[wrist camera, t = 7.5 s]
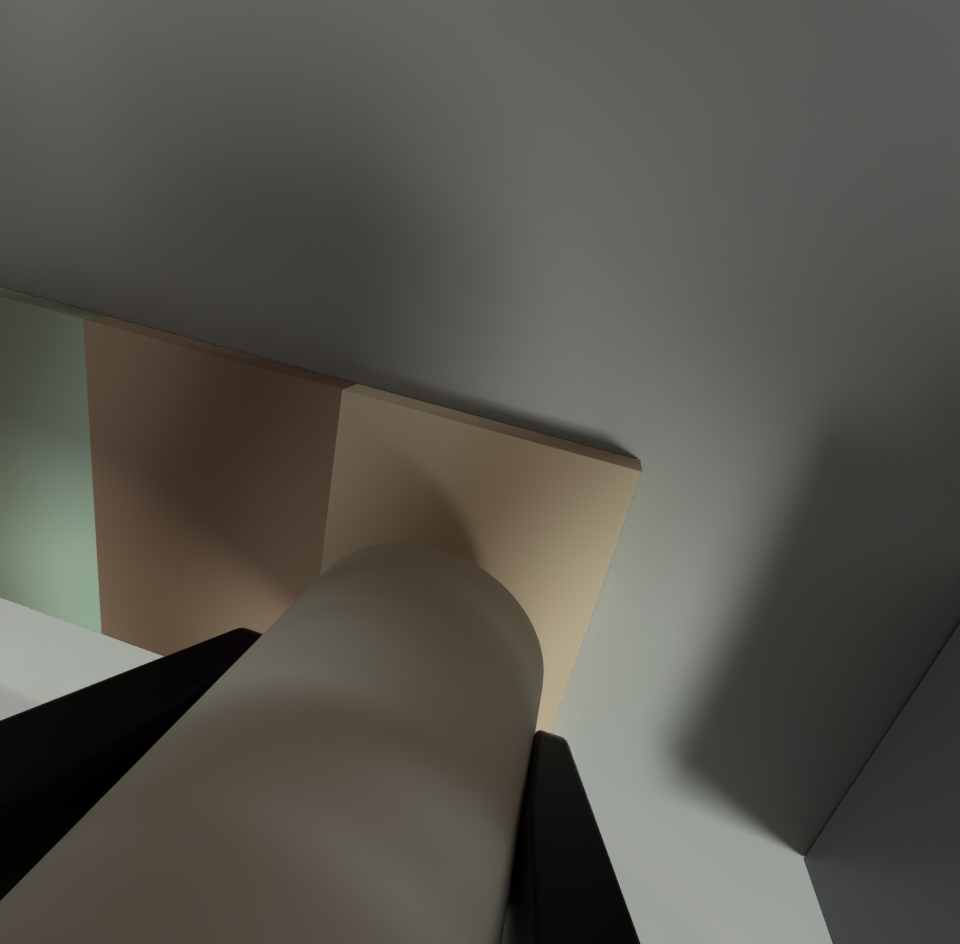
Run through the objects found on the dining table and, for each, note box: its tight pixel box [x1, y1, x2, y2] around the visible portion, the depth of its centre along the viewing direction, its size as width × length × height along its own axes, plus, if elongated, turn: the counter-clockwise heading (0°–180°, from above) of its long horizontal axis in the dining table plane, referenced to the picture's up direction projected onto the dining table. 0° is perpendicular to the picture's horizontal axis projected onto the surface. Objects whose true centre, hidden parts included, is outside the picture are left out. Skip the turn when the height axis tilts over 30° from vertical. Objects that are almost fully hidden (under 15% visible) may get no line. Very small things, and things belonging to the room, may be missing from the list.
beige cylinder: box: [0, 543, 544, 944], centre depth 6 cm, size 4×4×6 cm
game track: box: [0, 287, 642, 733], centre depth 11 cm, size 15×7×1 cm, turn 78°
